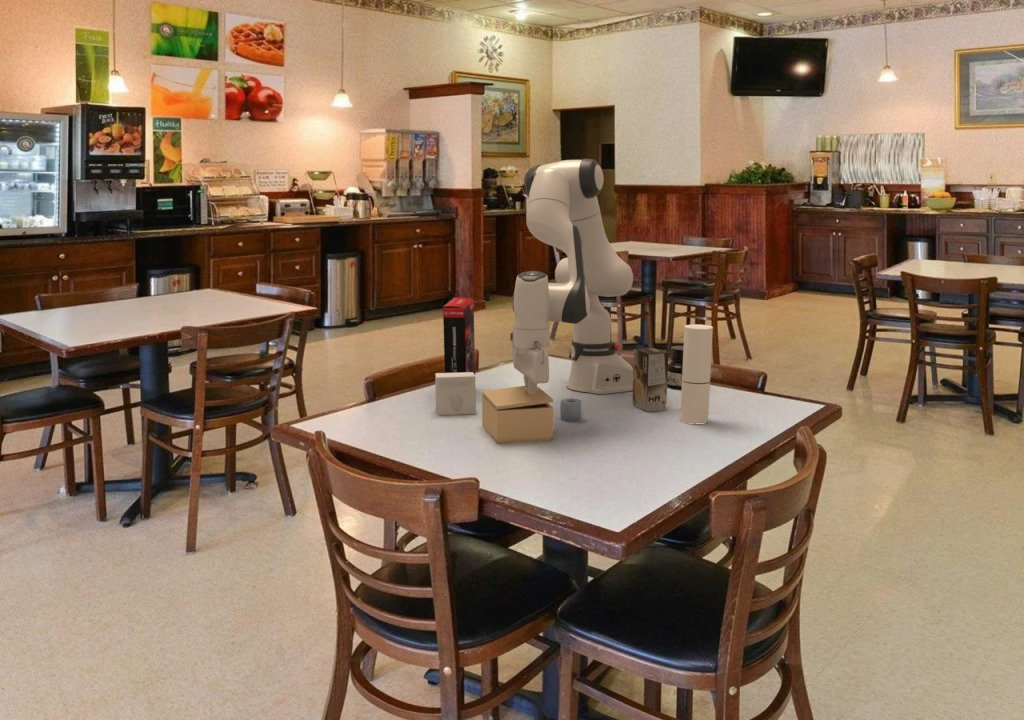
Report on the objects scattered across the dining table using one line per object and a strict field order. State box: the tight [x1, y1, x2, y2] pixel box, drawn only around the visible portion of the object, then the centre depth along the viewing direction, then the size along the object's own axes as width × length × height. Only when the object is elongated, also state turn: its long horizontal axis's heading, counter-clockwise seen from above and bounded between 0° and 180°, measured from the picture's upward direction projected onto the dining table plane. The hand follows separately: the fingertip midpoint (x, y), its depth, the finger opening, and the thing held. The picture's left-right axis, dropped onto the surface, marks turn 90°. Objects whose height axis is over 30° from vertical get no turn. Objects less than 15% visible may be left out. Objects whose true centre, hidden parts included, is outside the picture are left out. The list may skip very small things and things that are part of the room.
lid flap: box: [481, 385, 554, 410], centre depth 231 cm, size 14×16×1 cm
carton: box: [481, 394, 554, 444], centre depth 232 cm, size 14×16×8 cm
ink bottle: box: [667, 345, 684, 390], centre depth 282 cm, size 10×9×12 cm
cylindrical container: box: [679, 323, 714, 425], centre depth 242 cm, size 7×7×25 cm
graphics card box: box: [442, 297, 476, 376], centre depth 269 cm, size 17×7×27 cm, turn 174°
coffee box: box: [631, 346, 669, 413], centre depth 257 cm, size 9×6×16 cm
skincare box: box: [434, 372, 477, 416], centre depth 251 cm, size 10×6×10 cm, turn 98°
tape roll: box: [559, 397, 582, 423], centre depth 245 cm, size 5×5×5 cm
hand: (530, 393), depth 231 cm, fingers closed, pressing on lid flap
